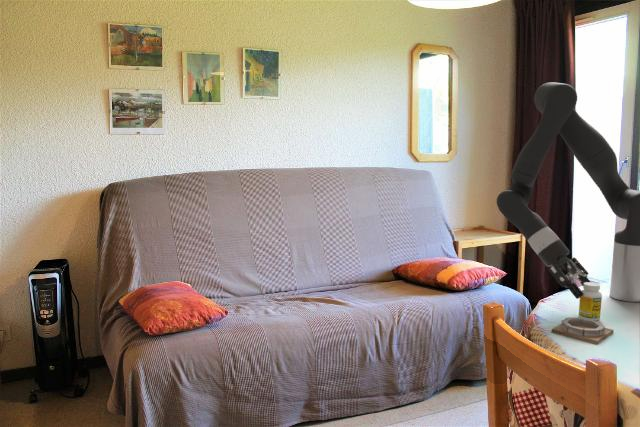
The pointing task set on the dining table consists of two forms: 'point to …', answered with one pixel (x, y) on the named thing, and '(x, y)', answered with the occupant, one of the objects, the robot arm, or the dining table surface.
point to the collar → (583, 329)
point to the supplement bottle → (590, 301)
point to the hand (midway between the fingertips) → (586, 293)
